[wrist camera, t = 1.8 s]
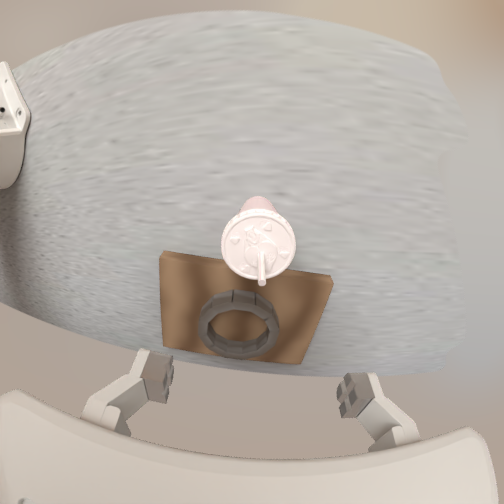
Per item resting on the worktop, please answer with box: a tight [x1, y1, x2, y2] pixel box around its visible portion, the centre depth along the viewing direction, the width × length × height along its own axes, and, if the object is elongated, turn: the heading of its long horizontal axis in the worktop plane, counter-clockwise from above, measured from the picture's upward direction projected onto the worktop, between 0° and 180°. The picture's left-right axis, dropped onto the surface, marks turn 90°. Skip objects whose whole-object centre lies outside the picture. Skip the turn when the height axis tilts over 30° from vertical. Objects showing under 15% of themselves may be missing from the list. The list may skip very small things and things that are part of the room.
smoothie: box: [221, 196, 296, 286], centre depth 25 cm, size 6×6×14 cm
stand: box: [159, 251, 334, 364], centre depth 36 cm, size 22×16×4 cm
